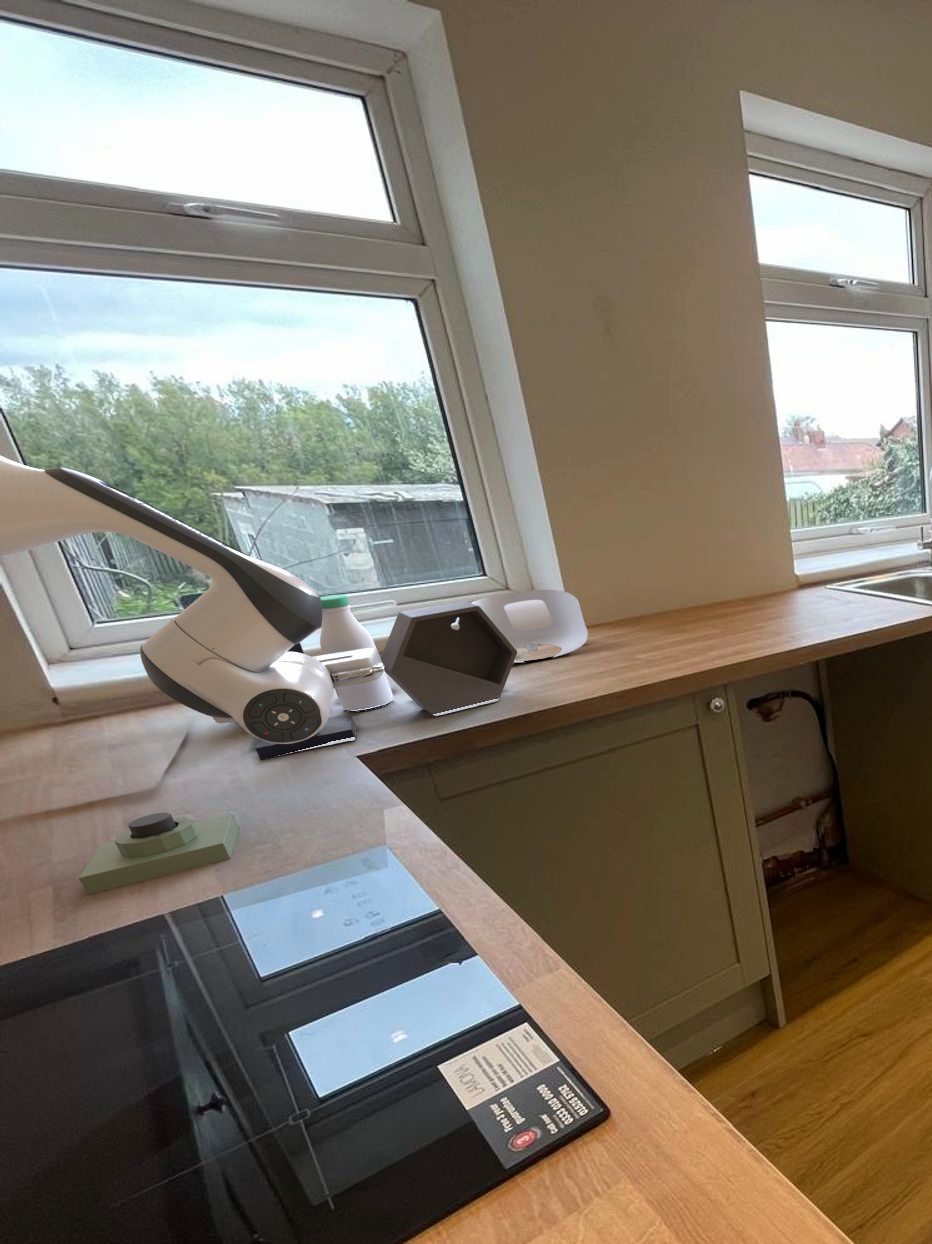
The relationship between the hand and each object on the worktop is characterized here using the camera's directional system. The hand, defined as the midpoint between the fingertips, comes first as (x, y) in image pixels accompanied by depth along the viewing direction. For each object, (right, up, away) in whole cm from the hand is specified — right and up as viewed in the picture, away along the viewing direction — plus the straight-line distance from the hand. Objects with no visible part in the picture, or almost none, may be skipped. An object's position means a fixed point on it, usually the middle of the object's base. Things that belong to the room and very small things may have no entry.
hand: (296, 664), depth 118 cm
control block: (+4, -25, -22) cm, 34 cm away
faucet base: (-9, -11, +14) cm, 20 cm away
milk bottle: (-13, -5, +30) cm, 33 cm away
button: (+4, -22, -24) cm, 33 cm away
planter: (+6, -4, +28) cm, 29 cm away
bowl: (0, +9, +61) cm, 62 cm away
